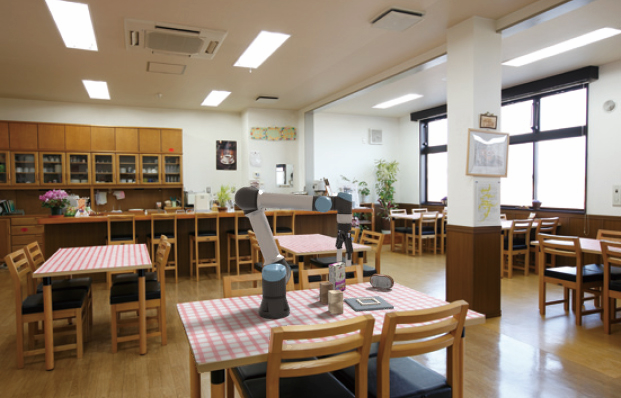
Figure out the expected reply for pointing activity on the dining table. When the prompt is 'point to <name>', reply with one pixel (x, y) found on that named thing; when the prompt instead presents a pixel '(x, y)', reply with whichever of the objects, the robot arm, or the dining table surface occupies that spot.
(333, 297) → the birch block
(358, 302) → the square frame
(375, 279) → the tin
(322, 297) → the walnut block
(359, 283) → the dining table surface
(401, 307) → the dining table surface
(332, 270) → the candy bar box
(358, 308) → the baseboard
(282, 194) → the robot arm
